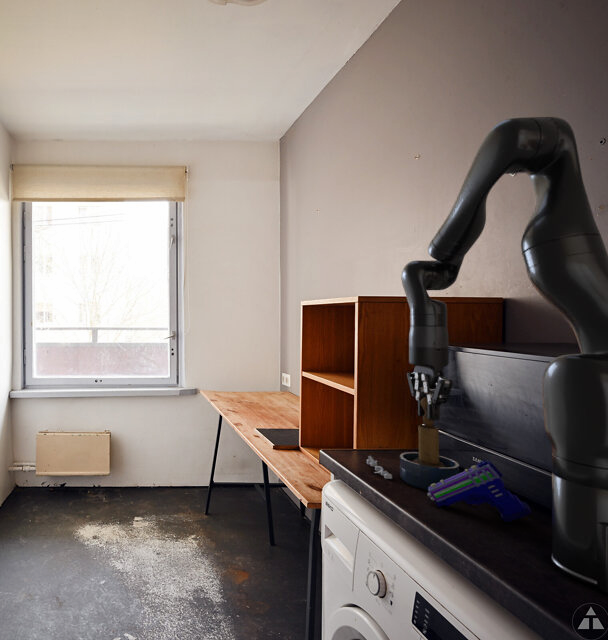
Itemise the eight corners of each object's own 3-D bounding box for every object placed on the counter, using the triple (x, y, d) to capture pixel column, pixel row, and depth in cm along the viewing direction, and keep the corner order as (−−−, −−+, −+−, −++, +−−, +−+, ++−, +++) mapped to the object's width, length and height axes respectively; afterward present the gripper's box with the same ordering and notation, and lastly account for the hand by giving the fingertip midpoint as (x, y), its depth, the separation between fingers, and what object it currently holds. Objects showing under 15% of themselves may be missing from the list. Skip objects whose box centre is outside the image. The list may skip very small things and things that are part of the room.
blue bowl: (471, 494, 91) (471, 469, 91) (417, 492, 92) (417, 467, 92) (438, 475, 102) (438, 452, 102) (390, 473, 103) (390, 451, 103)
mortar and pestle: (434, 469, 100) (434, 395, 100) (453, 479, 93) (453, 400, 93) (405, 468, 100) (405, 394, 100) (422, 478, 94) (421, 399, 94)
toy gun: (534, 512, 75) (489, 462, 79) (461, 539, 82) (422, 492, 85) (530, 504, 79) (487, 456, 82) (460, 530, 85) (423, 485, 89)
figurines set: (393, 479, 99) (393, 467, 99) (380, 478, 99) (380, 467, 99) (372, 462, 111) (372, 452, 111) (361, 462, 111) (361, 451, 111)
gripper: (395, 343, 104) (395, 411, 104) (430, 346, 90) (430, 425, 90) (426, 343, 103) (427, 412, 103) (467, 347, 89) (467, 426, 89)
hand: (428, 418), depth 97 cm, fingers closed on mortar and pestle, 3 cm apart
